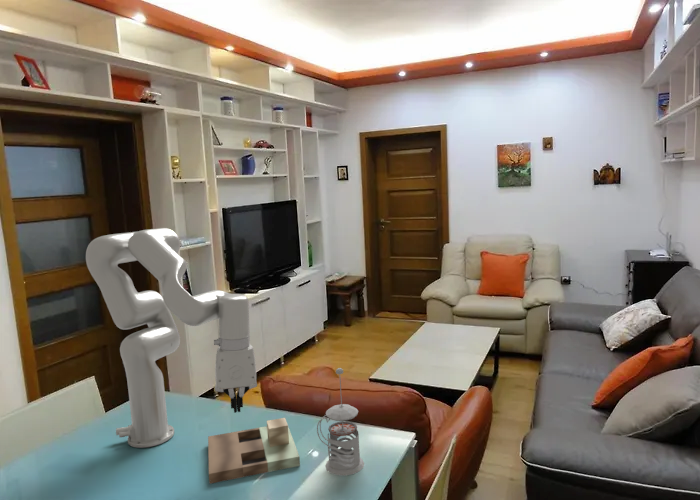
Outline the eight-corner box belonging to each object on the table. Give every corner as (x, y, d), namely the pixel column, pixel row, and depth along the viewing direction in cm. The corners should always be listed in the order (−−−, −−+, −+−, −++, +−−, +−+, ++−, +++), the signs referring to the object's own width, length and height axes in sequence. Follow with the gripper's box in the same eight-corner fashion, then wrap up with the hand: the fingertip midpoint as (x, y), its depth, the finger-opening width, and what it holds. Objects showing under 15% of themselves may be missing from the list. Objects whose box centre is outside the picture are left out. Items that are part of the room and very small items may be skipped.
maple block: (270, 447, 132) (268, 428, 131) (267, 438, 137) (266, 420, 136) (289, 443, 133) (287, 425, 133) (286, 435, 138) (285, 417, 137)
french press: (356, 478, 120) (351, 377, 117) (312, 471, 124) (306, 373, 121) (369, 457, 129) (364, 363, 126) (327, 451, 133) (322, 359, 130)
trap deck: (209, 483, 121) (208, 473, 120) (208, 445, 140) (208, 436, 140) (300, 465, 127) (299, 456, 126) (287, 430, 146) (286, 422, 145)
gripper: (204, 349, 124) (207, 420, 126) (265, 344, 128) (267, 412, 130) (204, 340, 131) (207, 407, 133) (262, 335, 135) (264, 400, 137)
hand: (236, 410), depth 132 cm, fingers closed
